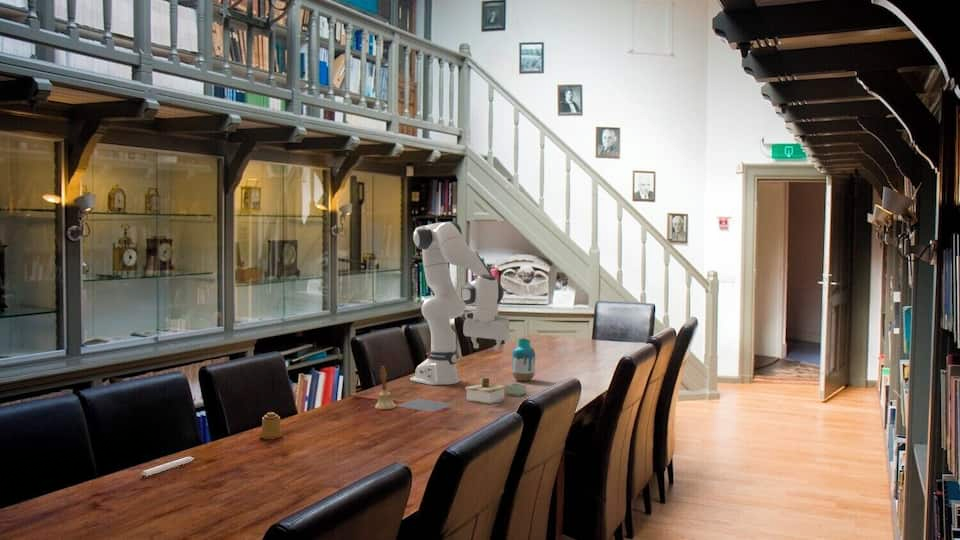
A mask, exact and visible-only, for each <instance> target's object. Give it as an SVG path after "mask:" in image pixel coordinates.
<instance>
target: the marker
mask: <svg viewBox="0 0 960 540" xmlns="http://www.w3.org/2000/svg"><path fill="white" fill-rule="evenodd" d="M192 460H193V461H194V460H195V458H194V457H192V456H186V457H183V458H179V459H177V460H174V461H172V460H171V461H169V462H167V463H162V464H161V465H157V466H154V467H152V468H148V469H145V470H143V471H141V472H140V473H141V474H140V476H141V475H142V474H143V475H146V476H148V475H152V474H155V473H159V472H161V471H164V470H167V469H170V468H172V467H175V466H178V465H181V464H185V463H188V462H191V461H192ZM193 461H192V462H193ZM192 462H191V463H192ZM159 474H160V473H159Z"/></svg>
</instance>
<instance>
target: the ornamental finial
mask: <svg viewBox="0 0 960 540" xmlns="http://www.w3.org/2000/svg"><path fill="white" fill-rule="evenodd" d="M261 418H262V419H261V430H260V431H259V438H261V439H262V438H266V439H265V440H273V439H272V438H278V439H280V438H282V436H283V434H284V431H283V430H282V428H281V417H280V416H279V415H278V414H276V413H275V412H273V411H271V412H267V413H266V414H264V416H263V417H261ZM279 437H280V438H279Z"/></svg>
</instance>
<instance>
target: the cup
mask: <svg viewBox="0 0 960 540" xmlns="http://www.w3.org/2000/svg"><path fill="white" fill-rule="evenodd" d="M526 385H527V384H524V383H516V382H513V383H509V384H507V385H505V386H506V388H505V390H506V391H505V395H506V396H511V397H522V396H524V395H526V394H527V393H526V392H527V391H526V389H527V388H526Z"/></svg>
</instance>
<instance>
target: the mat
mask: <svg viewBox="0 0 960 540" xmlns="http://www.w3.org/2000/svg"><path fill="white" fill-rule="evenodd" d="M455 405H456V403H451V402H450V403H449V402H445V401H437V400H431V399H425V398H424V399H423V398H416V399H412V400H409V401H406V402H402V403H398V404H396V407H399V408H400V407H401V408H406V409H411V410H418V411H422V412H423V411H424V412H429V413H434V412H436V411H440V410H444V409H446V408H449V407H452V406H455Z"/></svg>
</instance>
